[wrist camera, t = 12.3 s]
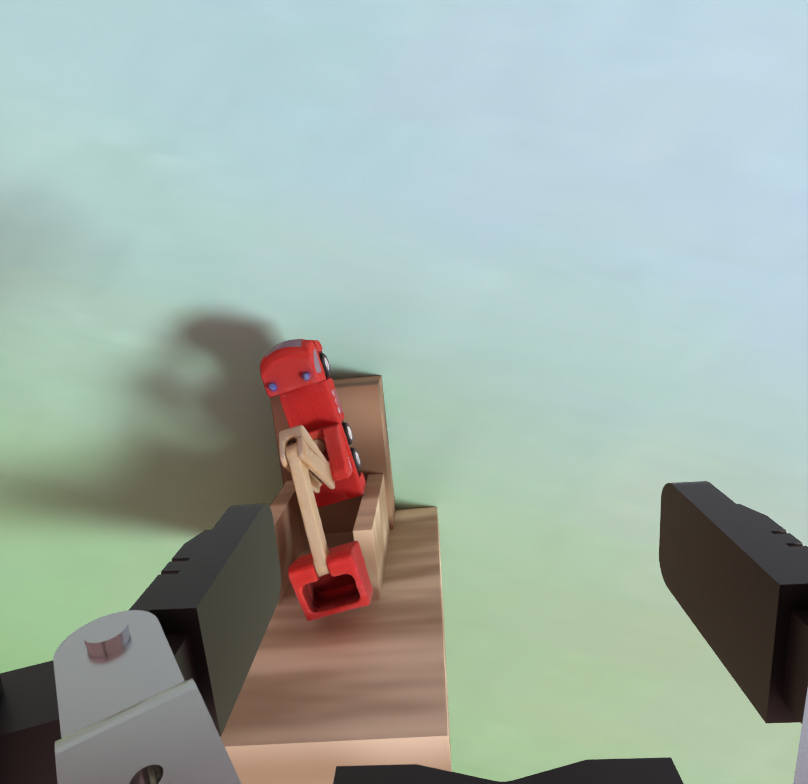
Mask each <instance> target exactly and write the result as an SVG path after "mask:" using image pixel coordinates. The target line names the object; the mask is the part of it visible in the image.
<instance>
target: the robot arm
mask: <svg viewBox="0 0 808 784" xmlns="http://www.w3.org/2000/svg"><path fill="white" fill-rule="evenodd" d="M659 562H660V568H661V572H662V576H663V579H664V581H665V583H666V585H667V587H668V589H669V590H670V592H671V593H672V594H673V596H674V597H675V598H676V600H677V601H678V603H679V604H680V605H681V607H682V608H683V609H684V611H685V612H686V614H687V615H688V616H689V618H690V619H691V620H692V622H693V623H694V625H695V626H696V627H697V629H698V630H699V631H700V633H701V634H702V636H703V637H704V638H705V640H706V641H707V643H708V644H709V645H710V647H711V648H712V649H713V651H714V652H715V654H716V655H717V656H718V658H719V659H720V660H721V662H722V663H723V665H724V666H725V667H726V669H727V670H728V671H729V673H730V674H731V676H732V677H733V678H734V680H735V681H736V682H737V684H738V685H739V687H740V688H741V689H742V691H743V692H744V693H745V695H746V696H747V698H748V699H749V700H750V702H751V703H752V705H753V706H754V707H755V709H756V710H757V711H758V713H759V714H760V716H761V717H762V718H763V720H764V721H765V722H766V723H790V722H801V724H802V729H801V736H800V743H799V750H798V756H797V763H796V770H795V777H794V784H808V547H807V546H802V542H800V541H799V540H798V539H796V538H795V537H794V536H792V535H791V534H790V533H786V530H785V529H783V528H782V527H781V526H779V525H778V524H777V523H776V522H774V521H773V520H772V519H770V518H769V517H768V516H766V515H764V514H761V513H759V512H757V511H754V510H752V509H750V508H748V507H745V506H743V505H741V504H736V503H734V502H733V501H732V500H731V499H729V498H728V497H727V496H726V495H724V494H723V493H722V492H721V491H719V490H718V489H717V488H716V487H714V486H713V485H712V484H711V483H709V482H707V481H701V482H682V483H667V484H666V485H665V486H664V488H663V490H662V495H661V518H660V543H659ZM280 591H281V570H280V563H279V556H278V549H277V542H276V535H275V528H274V521H273V515H272V511H271V508H270V506H269V505H268V504H253V505H235V506H230V507H229V508H228V510H227V511H226V512H225V514H224V515H223V516H222V517H221V519H220V520H219V521H218V523H217V524H216V525H215V526H214V528H213V529H212V530H205V531H203V532H202V533H200V534H199V535H197V536H196V537H194V538H193V539H191V540H190V541H188V542H186V543H185V544H184V545H183V546H182V547H181V549H180V550H179V551H178V552H177V553H176V555H175V556H174V557H173V558H172V562H169V563H168V564H167V565H166V567H165V568H164V569H163V570H162V571H161V575H158V576H157V577H156V578H155V580H154V581H153V582H152V583H151V584H150V586H149V587H148V588H147V589H146V590H145V592H144V593H143V594H142V595H141V596H140V598H139V599H138V600H137V601H136V602H135V604H134V605H133V606H132V607H131V608H130V610H129V611H122V612H117V613H113V614H109V615H106V616H103V617H101V618H98V619H96V620H94V621H92V622H90V623H88V624H86V625H84V626H82V627H81V628H79V629H77V630H76V631H75V632H73V633H72V634H71V635H69V636H68V637H67V638H66V639H65V640H64V641H63V642H62V643H61V644H60V646H59V647H58V649H57V650H56V652H55V655H54V660H53V661H49V662H45V663H41V664H37V665H33V666H29V667H25V668H21V669H17V670H13V671H9V672H5V673H1V674H0V784H241V782H240V779H239V777H238V775H237V773H236V771H235V768H234V766H233V764H232V762H231V760H230V757H229V755H228V753H227V751H226V749H225V747H224V744H223V742H222V740H221V738H220V737H221V736H222V733H223V731H224V729H225V726H226V724H227V721H228V719H229V717H230V714H231V712H232V710H233V707H234V705H235V703H236V700H237V698H238V696H239V693H240V691H241V689H242V686H243V684H244V682H245V679H246V677H247V675H248V672H249V670H250V668H251V665H252V663H253V660H254V658H255V656H256V653H257V651H258V649H259V646H260V644H261V642H262V639H263V637H264V635H265V632H266V630H267V628H268V625H269V623H270V621H271V618H272V616H273V614H274V611H275V609H276V607H277V604H278V601H279V597H280ZM333 784H683V782H682V780H681V778H680V775H679V773H678V771H677V769H676V767H675V765H674V763H673V761H672V759H671V758H637V759H598V760H584V761H580V762H577V763H573V764H570V765H566V766H563V767H559V768H556V769H552V770H548V771H545V772H541V773H538V774H534V775H531V776H527V777H524V778H520V779H517V780H513V781H508V782H498V781H492V780H487V779H483V778H478V777H473V776H469V775H464V774H460V773H455V772H450V771H446V770H441V769H436V768H432V767H427V766H423V765H418V764H402V765H363V766H336V770H335V776H334V782H333Z"/></svg>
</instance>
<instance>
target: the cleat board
mask: <svg viewBox="0 0 808 784" xmlns="http://www.w3.org/2000/svg"><path fill="white" fill-rule="evenodd" d="M333 382H334V386H335V388H336V391H337V395H338V398H339V400H340V403H341V406H342V410H343V413H344V417H345V418H344V422H346V423H348V424H349V426H350V428H351V431H352V435H353V443H352V444H350V445H349V447H352V448H355V449H356V450H357V451H358V454H359V457H360V460H361V468H360V469H358V470H357V472H358V473H359V472H362V473H363V475H364V478H365V482H366V487H365V490H364V495H361V496H358V497H355V498H351V499H348V500H345V501H341V502H337V503H334V504H330V505H327V506H324V507H320V508H318V507H317V508H318V512H319V516H320V519H321V523H322V527H323V531H324V535H325V538H326V542H327V546H328V549H329V548H333V547H336V546H340V545H342V544H347V543H349V542H354V541H358V542H359V544H360V548H361V550H362V555H363V557H364V560H365V565H366V568H367V571H368V575H369V578H370V582H371V585H372V588H373V592H372V598H371V602H370V604H369V605H367V606H363V607H359V608H355V609H351V610H347V611H344V612H341V613H337V614H333V615H329V616H326V617H322V618H319V619H315V620H311V621H307V619H306V617H305V615H304V612H303V610H302V608H301V606H300V604H299V601H298V599H297V596H296V594H295V591H294V589H293V587H292V584H291V582H290V579H289V576H288V569H289V566H290V565H291V564H292V563H293V562H294V561H295V560H296V559H298V558H299V557H300V556H304V555H307V554H310V553H311V549H310V546H309V541H308V538H307V534H306V531H305V526H304V522H303V518H302V514H301V510H300V506H299V503H298V499H297V495H296V491H295V486H294V482H293V479H292V474H291V473H290V472H289V471H288V470H286V469H285V467H284V466H283V465H282V463H281V460H280V465H281V472H282V478H283V485H284V486H283V487H282V489H281V490H280V492H279V493H278V495H277V496H276V498H275V499H274V501H273V503H272V504H271V506H270V508H271V511H272V515H273V521H274V528H275V535H276V542H277V549H278V556H279V563H280V570H281V591H280V597H279V601H278V604H277V607H276V609H275V611H274V614H273V616H272V618H271V621H270V623H269V625H268V628H267V630H266V632H265V635H264V637H263V639H262V642H261V644H260V646H259V649H258V651H257V653H256V656H255V658H254V660H253V663H252V665H251V668H250V670H249V672H248V675H247V677H246V679H245V682H244V684H243V686H242V689H241V691H240V693H239V696H238V698H237V700H236V703H235V705H234V707H233V710H232V712H231V714H230V717H229V719H228V721H227V724H226V726H225V729H224V731H223V733H222V736H221V737H220V738H221V740H222V742H223V744H224V747H225V749H226V751H227V753H228V755H229V757H230V760H231V762H232V764H233V766H234V768H235V771H236V773H237V775H238V777H239V779H240V782H241V784H333V782H334V776H335V770H336V766H363V765H402V764H418V765H423V766H427V767H432V768H436V769H441V770H446V771H450V772H452V770H451V751H450V732H449V713H448V694H447V675H446V655H445V636H444V617H443V598H442V579H441V559H440V540H439V526H438V515H437V507H429V508H415V509H401V510H396V508H395V499H394V490H393V480H392V471H391V462H390V452H389V443H388V433H387V424H386V415H385V405H384V396H383V387H382V377H381V376H369V377H358V378H346V379H335V380H333ZM270 400H271V406H272V413H273V419H274V426H275V433H276V439H277V446H278V452H279V459H280V448H279V432H280V431H282V430H285V429H289V425H288V421H287V419H286V416H285V413H284V410H283V408H282V404H281V401H280V397H279V395H276V396H273V397H270ZM341 423H342V422H341Z"/></svg>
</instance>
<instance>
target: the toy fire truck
mask: <svg viewBox="0 0 808 784" xmlns="http://www.w3.org/2000/svg"><path fill="white" fill-rule="evenodd" d="M260 371H261V378H262V380H263V384H264V387H265V389H266V392H267V395H268V396H269V397H273V396H276V395H279V397H280V401H281V404H282V408H283V410H284V413H285V416H286V419H287V421H288V425H289V429H285V430H282V431H280V432H279V448H280V460H281V463H282V465H283V466H284V467H285V469H286V470H288V471H289V472H290V473H291V474H292V479H293V482H294V486H295V491H296V495H297V499H298V503H299V506H300V510H301V514H302V518H303V522H304V526H305V531H306V534H307V538H308V541H309V546H310V549H311V553H310V554H307V555H304V556H300V557H299V558H298V559H296V560H295V561H294V562H293V563H292V564H291V565H290V566H289V569H288V576H289V579H290V582H291V584H292V587H293V589H294V591H295V594H296V596H297V599H298V601H299V604H300V606H301V608H302V610H303V612H304V615H305V617H306V619H307V621H311V620H315V619H319V618H322V617H326V616H329V615H333V614H337V613H341V612H344V611H347V610H351V609H355V608H359V607H363V606H367V605H369V604H370V602H371V598H372V592H373V588H372V585H371V582H370V578H369V575H368V571H367V568H366V565H365V560H364V557H363V555H362V550H361V548H360V544H359V542H358V541H354V542H349V543H347V544H342V545H340V546H336V547H333V548H329V549H328V546H327V542H326V538H325V535H324V531H323V527H322V523H321V519H320V516H319V512H318V508H320V507H324V506H327V505H330V504H334V503H337V502H341V501H345V500H348V499H351V498H355V497H358V496H361V495H364V490H365V487H366V482H365V478H364V475H363V473H362V472H359V473H358V472H357V470H358V469H360V468H361V460H360V457H359V454H358V451H357V450H356V449H355V448H352V447H349V445H350V444H352V443H353V435H352V431H351V428H350V426H349V424H348V423H346V422H344V418H345V417H344V413H343V410H342V406H341V403H340V400H339V398H338V395H337V391H336V388H335V386H334V382H333V380H332V378H330V377H329V375H330V373H331V372H330V371H331V369H330V365H329V362H328V359H327V357H326V355H325V354H323V353H322V346H321V344H320V342H319V341H317V340H303V339H295V340H288V341H284V342H282V343H280V344H278V345H276V346H275V347H273V348H272V349H271V350H270V351H269V352H268V353H267V354H266V355H265V356H264V357H263V359H262V361H261V364H260ZM341 422H342V423H341ZM317 507H318V508H317Z"/></svg>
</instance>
